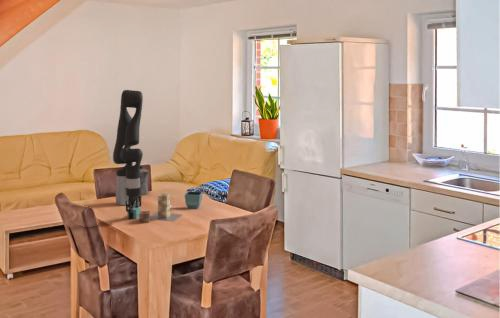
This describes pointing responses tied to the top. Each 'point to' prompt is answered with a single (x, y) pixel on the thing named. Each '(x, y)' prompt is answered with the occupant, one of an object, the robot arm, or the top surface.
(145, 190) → the coffeepot
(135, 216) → the teal block
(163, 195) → the tower top block
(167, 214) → the tower base block
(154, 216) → the slate board
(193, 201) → the flower pot
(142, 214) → the walnut block
